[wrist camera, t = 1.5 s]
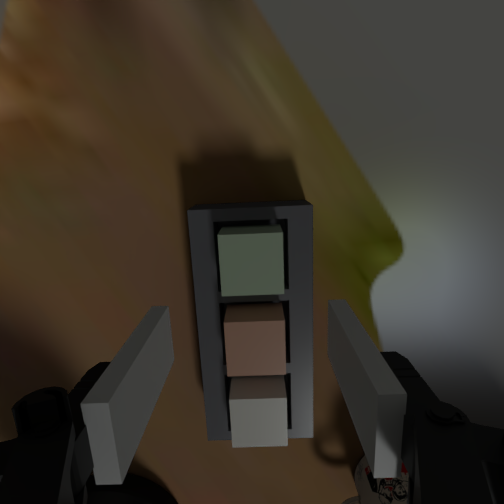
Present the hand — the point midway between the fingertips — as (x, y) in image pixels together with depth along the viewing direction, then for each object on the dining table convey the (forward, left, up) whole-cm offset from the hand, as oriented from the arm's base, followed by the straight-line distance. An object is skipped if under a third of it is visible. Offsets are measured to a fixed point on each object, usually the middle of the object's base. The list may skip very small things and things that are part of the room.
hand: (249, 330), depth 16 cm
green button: (0, 0, -14) cm, 14 cm away
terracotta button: (0, -7, -14) cm, 16 cm away
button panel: (0, -7, -17) cm, 18 cm away
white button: (0, -14, -14) cm, 20 cm away
